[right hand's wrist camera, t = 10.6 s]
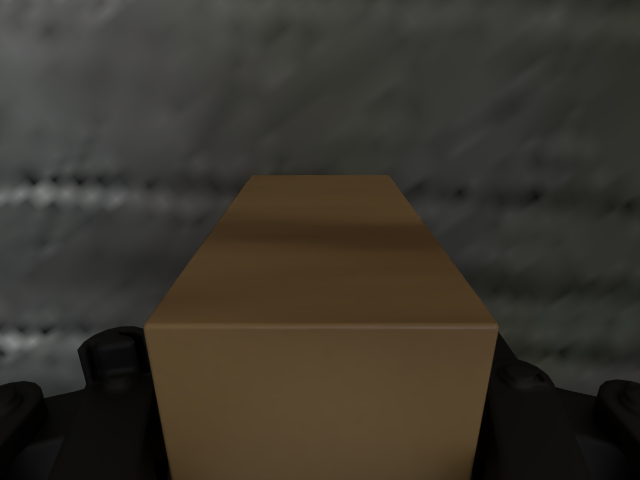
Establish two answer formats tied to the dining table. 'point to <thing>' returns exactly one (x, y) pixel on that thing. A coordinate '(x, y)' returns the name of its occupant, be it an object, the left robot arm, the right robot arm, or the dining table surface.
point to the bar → (320, 341)
